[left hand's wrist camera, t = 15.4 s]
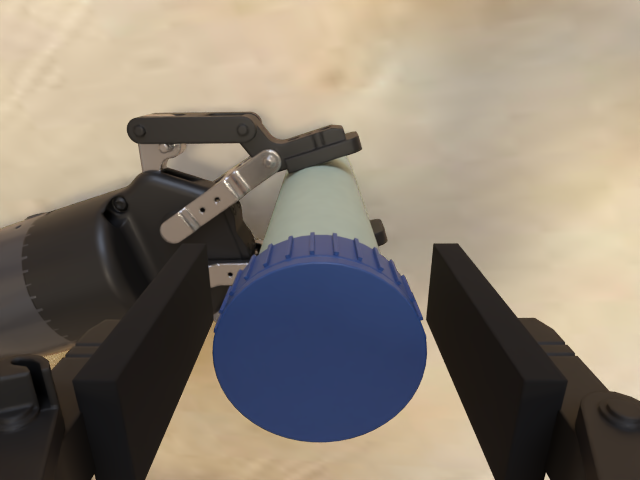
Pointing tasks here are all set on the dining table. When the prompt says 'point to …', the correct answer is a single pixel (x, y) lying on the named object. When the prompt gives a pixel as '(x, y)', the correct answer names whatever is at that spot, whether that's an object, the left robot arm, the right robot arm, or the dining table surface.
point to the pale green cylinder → (320, 205)
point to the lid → (319, 339)
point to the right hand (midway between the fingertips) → (370, 186)
